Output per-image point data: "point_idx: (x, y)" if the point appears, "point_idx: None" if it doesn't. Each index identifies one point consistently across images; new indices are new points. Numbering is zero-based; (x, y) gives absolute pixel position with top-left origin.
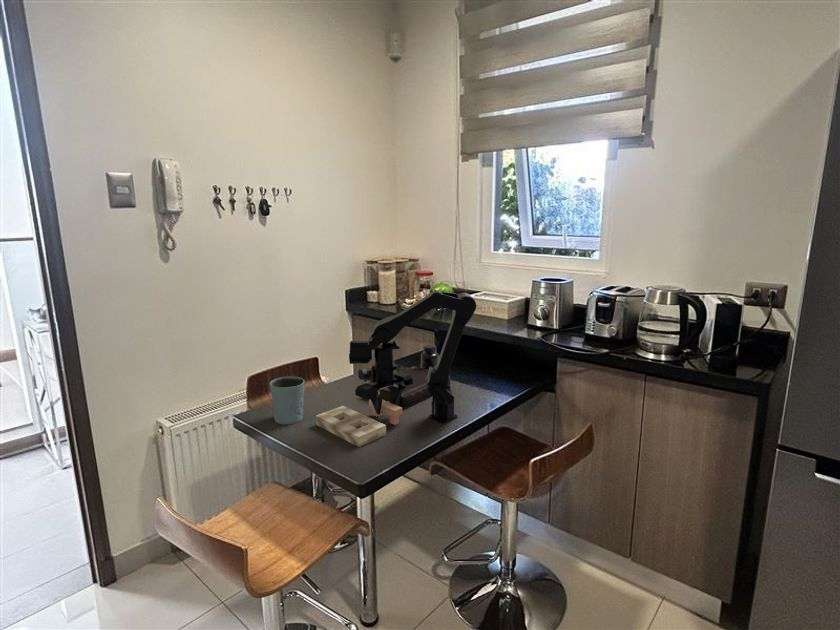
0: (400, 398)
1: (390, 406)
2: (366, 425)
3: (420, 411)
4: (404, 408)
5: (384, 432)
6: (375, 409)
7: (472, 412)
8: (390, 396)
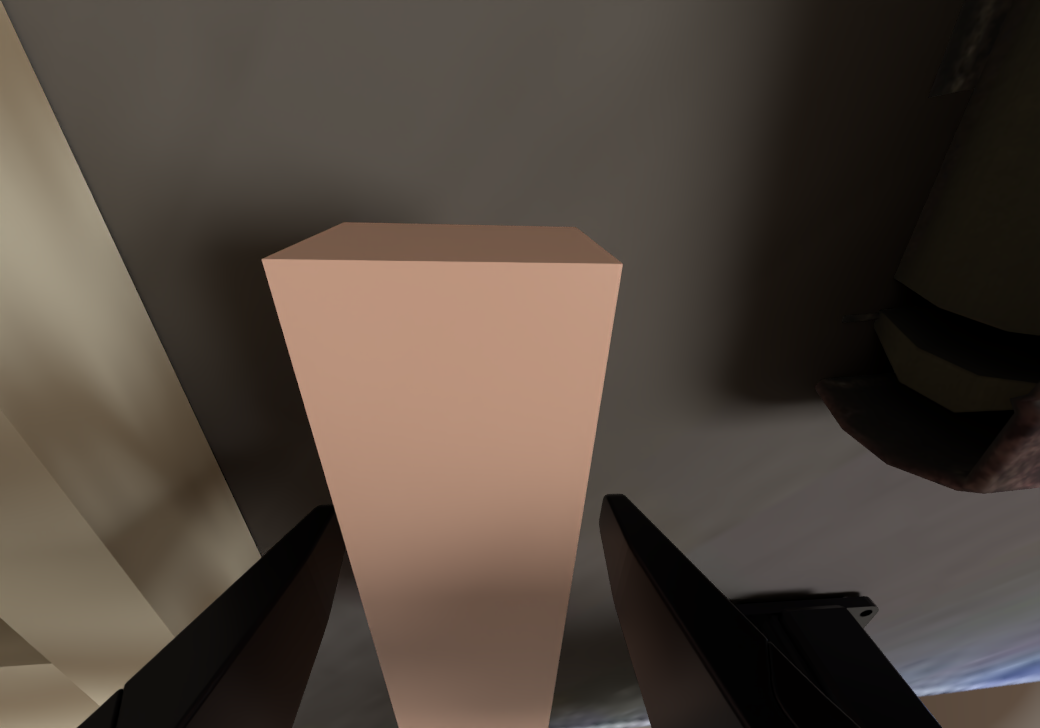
0: (1020, 329)
1: (459, 712)
2: (10, 668)
3: (807, 514)
4: (816, 390)
5: None
6: (254, 582)
7: (903, 667)
8: (709, 682)
